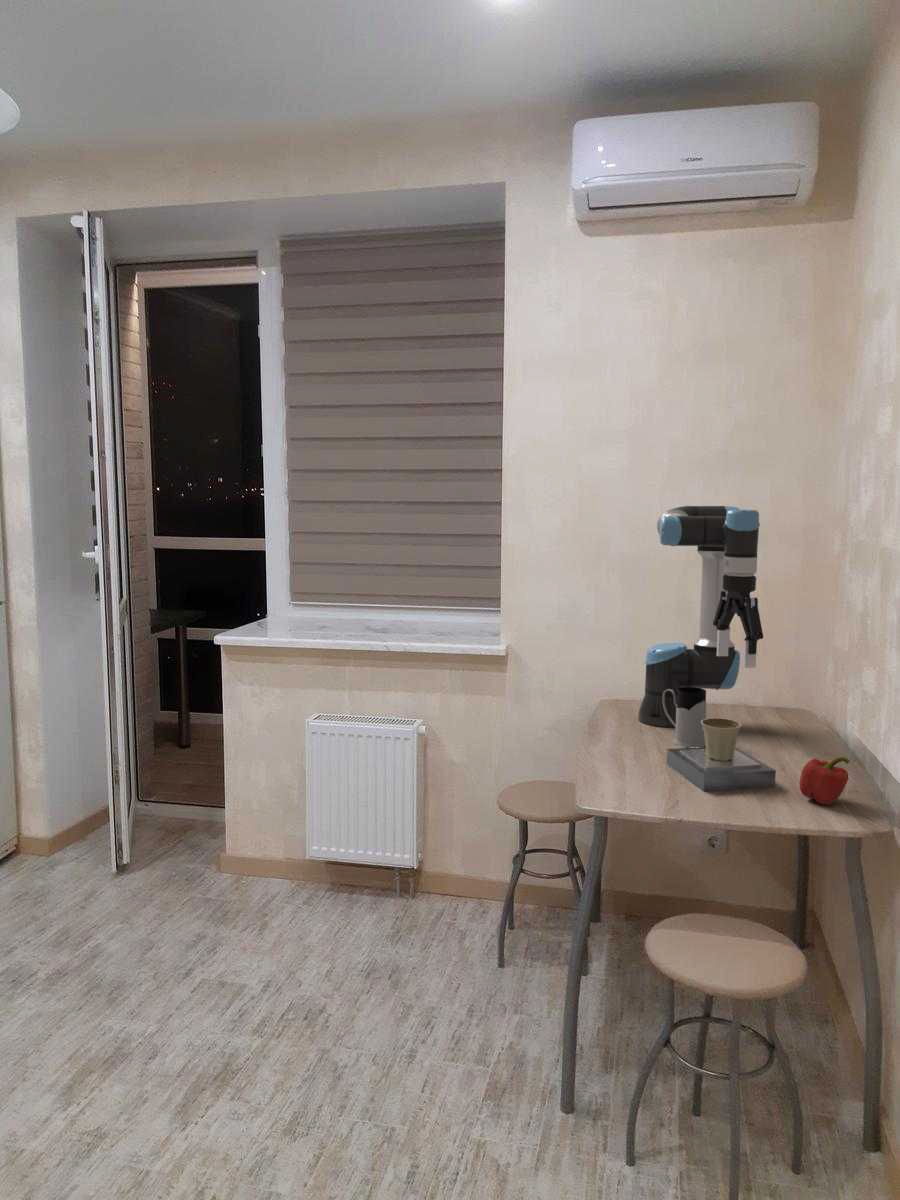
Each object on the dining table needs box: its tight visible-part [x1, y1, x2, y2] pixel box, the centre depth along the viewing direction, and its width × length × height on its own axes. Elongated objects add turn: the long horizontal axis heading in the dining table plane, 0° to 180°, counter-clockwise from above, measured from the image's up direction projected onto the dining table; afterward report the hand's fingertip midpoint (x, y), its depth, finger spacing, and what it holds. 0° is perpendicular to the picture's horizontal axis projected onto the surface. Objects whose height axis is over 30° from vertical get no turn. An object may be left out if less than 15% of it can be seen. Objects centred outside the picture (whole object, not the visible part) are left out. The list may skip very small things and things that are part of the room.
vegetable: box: [799, 757, 851, 805], centre depth 192 cm, size 11×10×10 cm
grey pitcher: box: [662, 687, 707, 748], centre depth 237 cm, size 9×14×15 cm, turn 36°
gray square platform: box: [666, 746, 777, 792], centre depth 209 cm, size 20×18×4 cm
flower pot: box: [701, 717, 742, 761], centre depth 208 cm, size 9×9×9 cm
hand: (735, 661), depth 208 cm, fingers open, 13 cm apart
